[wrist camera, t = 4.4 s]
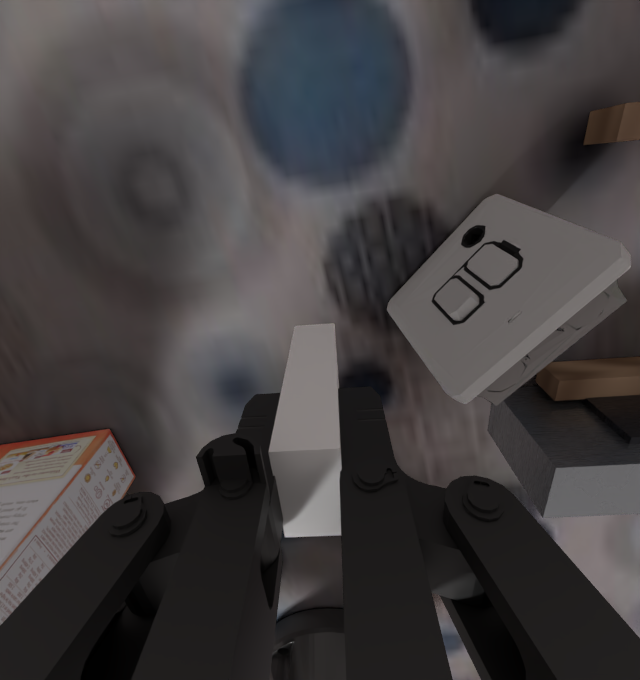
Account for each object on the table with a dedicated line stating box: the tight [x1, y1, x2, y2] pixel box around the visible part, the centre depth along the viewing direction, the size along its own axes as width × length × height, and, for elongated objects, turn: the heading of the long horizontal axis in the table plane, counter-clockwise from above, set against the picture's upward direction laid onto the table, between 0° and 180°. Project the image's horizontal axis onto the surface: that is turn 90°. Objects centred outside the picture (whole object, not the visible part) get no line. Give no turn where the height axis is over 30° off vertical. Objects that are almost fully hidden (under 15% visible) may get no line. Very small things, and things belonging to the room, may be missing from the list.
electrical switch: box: [387, 194, 631, 406], centre depth 19 cm, size 9×5×9 cm, turn 141°
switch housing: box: [488, 386, 640, 518], centre depth 24 cm, size 16×5×8 cm, turn 95°
